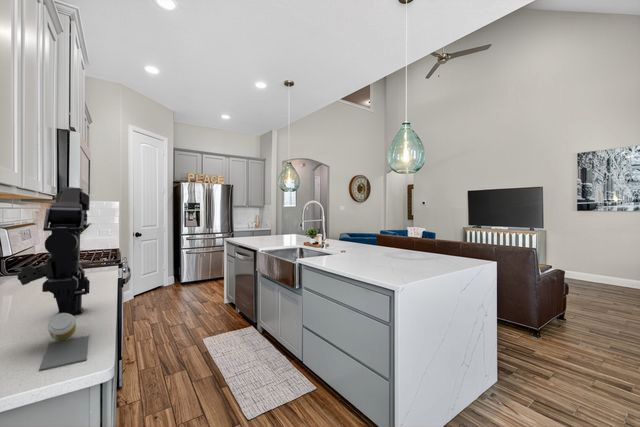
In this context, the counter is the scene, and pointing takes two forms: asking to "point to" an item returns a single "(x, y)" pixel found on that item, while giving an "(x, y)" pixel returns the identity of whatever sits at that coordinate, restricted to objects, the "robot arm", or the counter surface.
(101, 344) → the counter surface
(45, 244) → the robot arm
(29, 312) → the counter surface
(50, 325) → the supplement bottle
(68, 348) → the mat
